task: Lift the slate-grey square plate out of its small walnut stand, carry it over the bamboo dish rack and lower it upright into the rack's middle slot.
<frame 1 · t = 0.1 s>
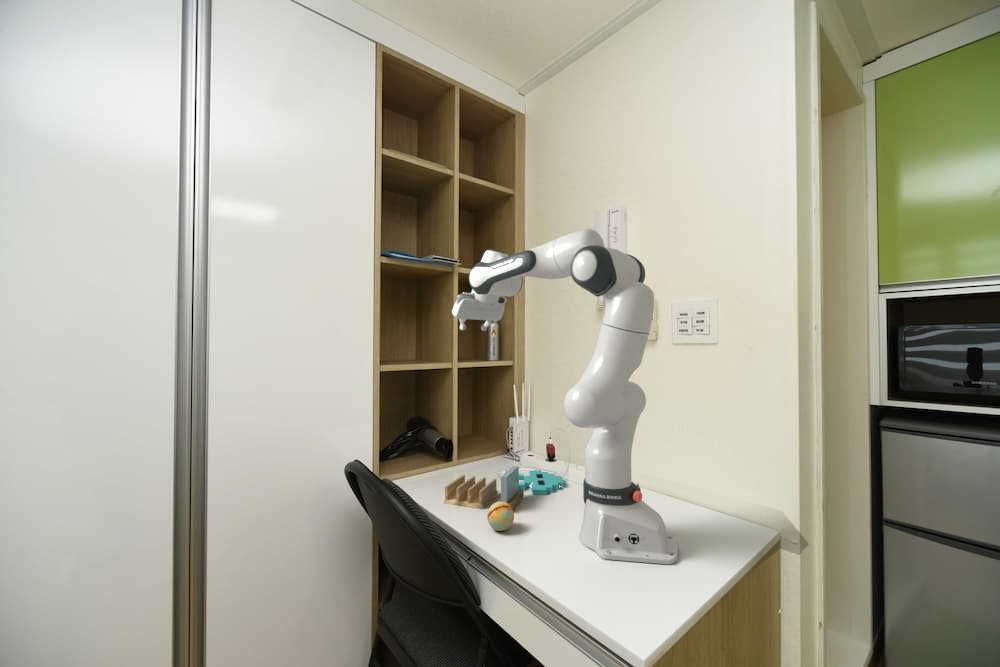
hand: (473, 329, 139), 54 cm above the table, tool tilted 30°, fingers open, 8 cm apart
plate: (510, 504, 116), resting in stand
rack: (471, 498, 120), on the table
ball: (500, 530, 100), on the table
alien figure: (534, 486, 133), on the table
stand: (510, 504, 116), on the table
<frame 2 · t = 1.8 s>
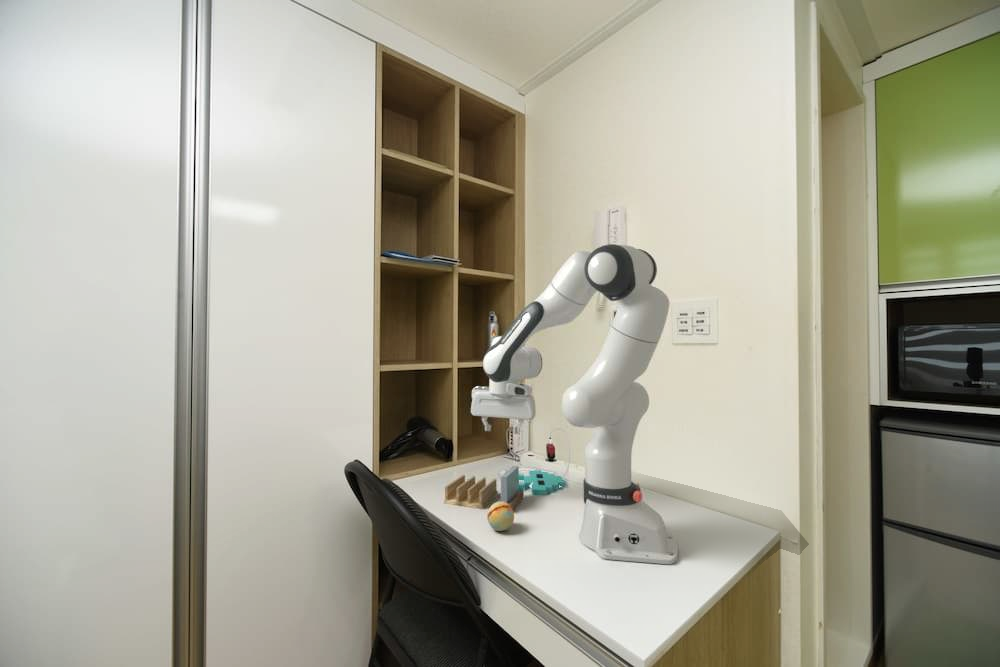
hand: (502, 432, 118), 21 cm above the table, tool pointing down, fingers open, 8 cm apart
nothing on the table moved.
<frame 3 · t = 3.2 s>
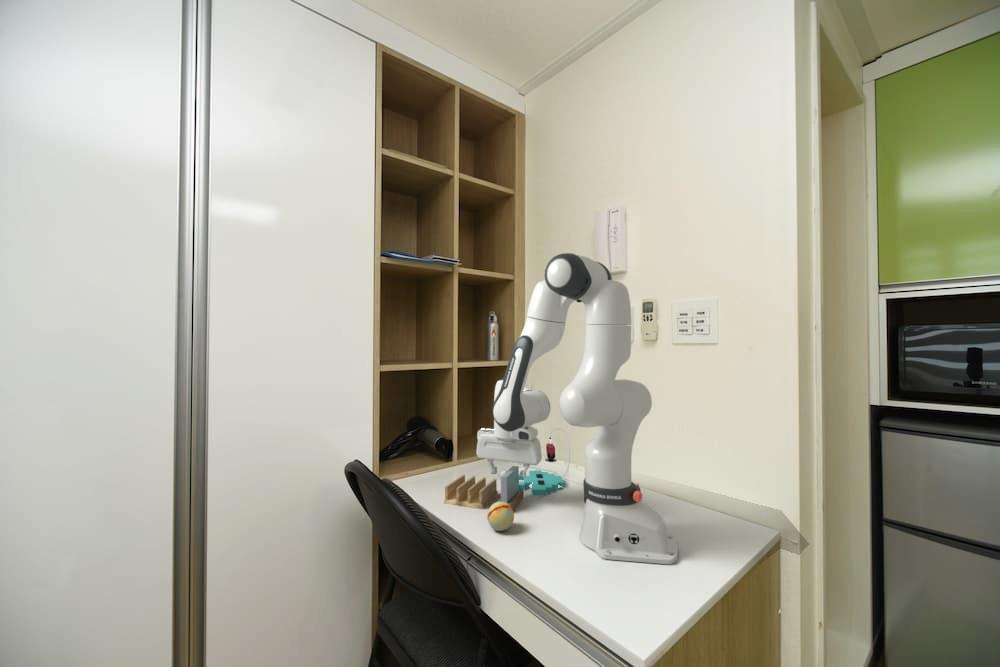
hand: (508, 475, 117), 9 cm above the table, tool pointing down, fingers open, 8 cm apart
nothing on the table moved.
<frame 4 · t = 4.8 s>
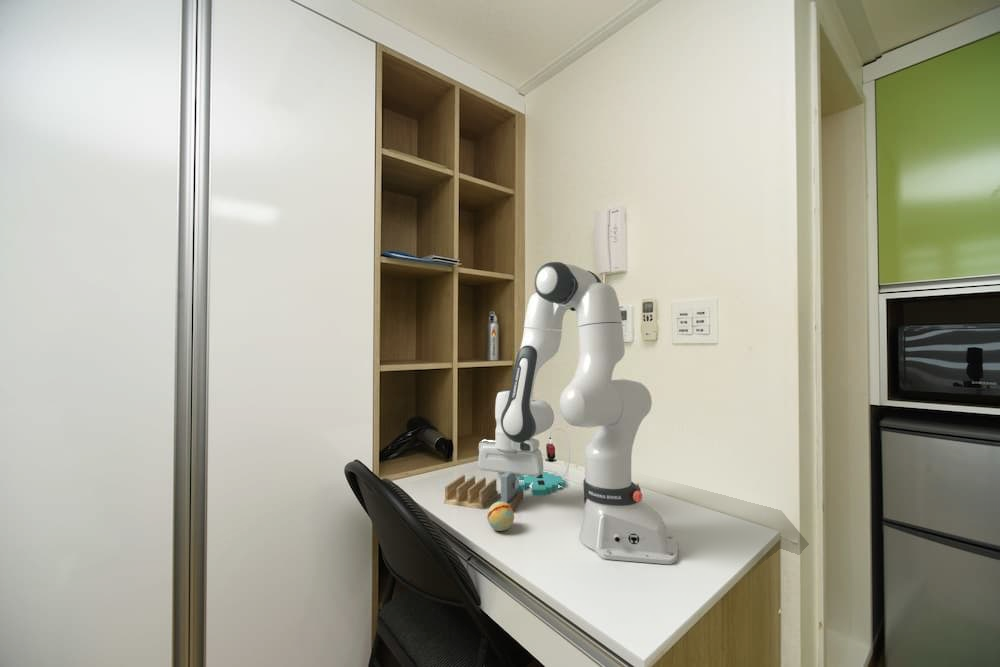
hand: (510, 487, 116), 5 cm above the table, tool pointing down, fingers closed on plate, 2 cm apart
plate: (510, 504, 116), resting in stand, touching gripper
everything else where it was.
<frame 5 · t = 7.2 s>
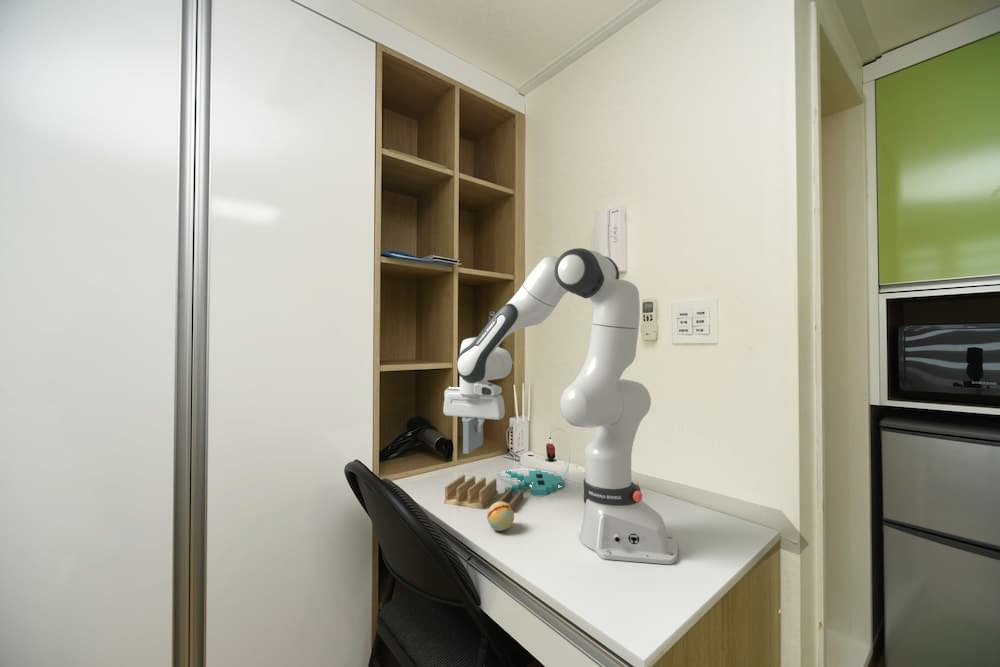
hand: (473, 431, 121), 21 cm above the table, tool pointing down, fingers closed on plate
plate: (473, 448, 121), point 16 cm above the table, touching gripper
everything else where it was.
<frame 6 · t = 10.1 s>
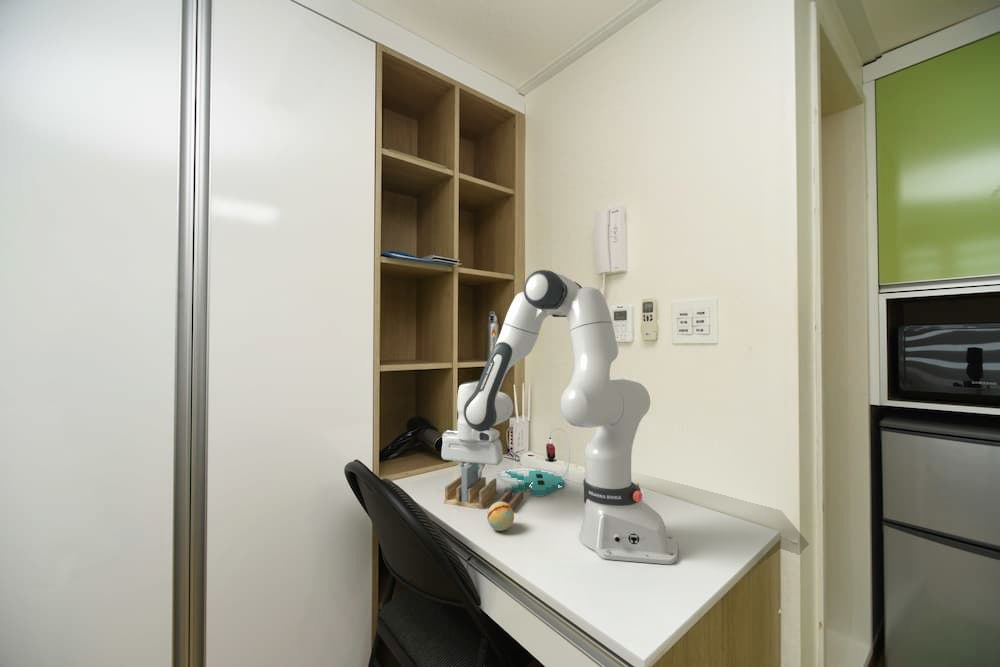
hand: (471, 476, 121), 7 cm above the table, tool pointing down, fingers open, 3 cm apart
plate: (472, 495, 120), point 1 cm above the table, touching rack
everything else where it was.
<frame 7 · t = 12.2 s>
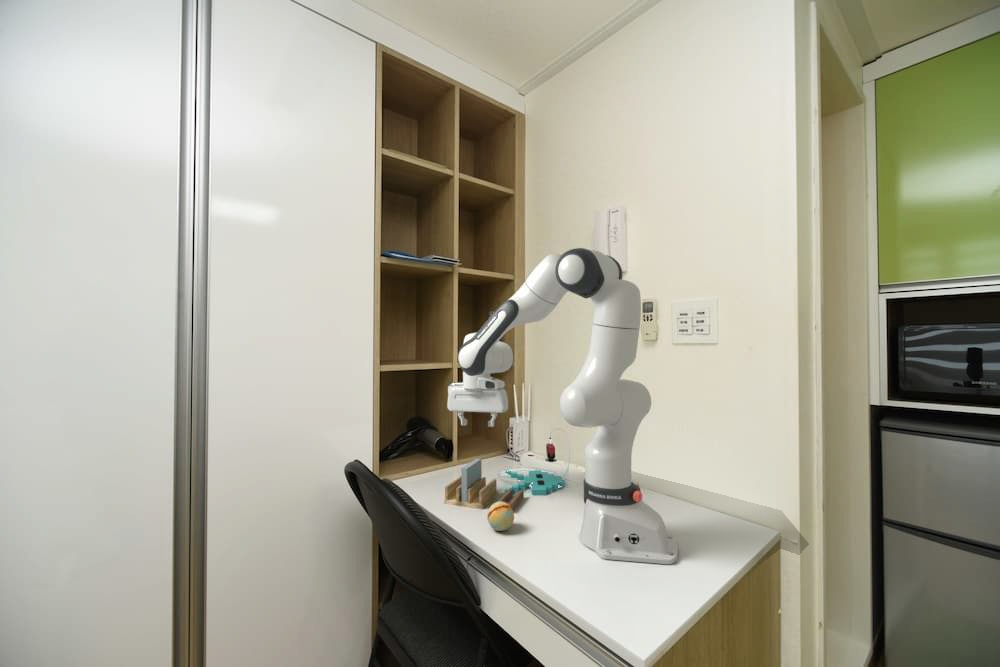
hand: (477, 425, 122), 23 cm above the table, tool pointing down, fingers open, 8 cm apart
nothing on the table moved.
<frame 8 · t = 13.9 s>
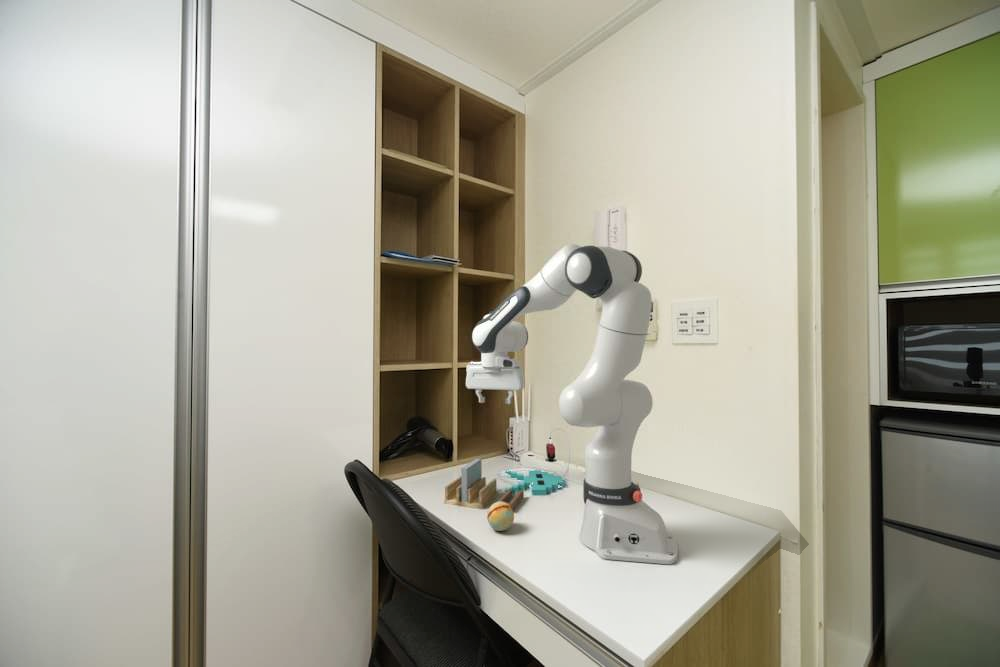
hand: (494, 403, 127), 29 cm above the table, tool pointing down, fingers open, 8 cm apart
nothing on the table moved.
at the end: plate 0.1 cm off-centre on the rack, point 1.0 cm above the rack's base; plate tilted 0°; the gripper is holding nothing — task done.
